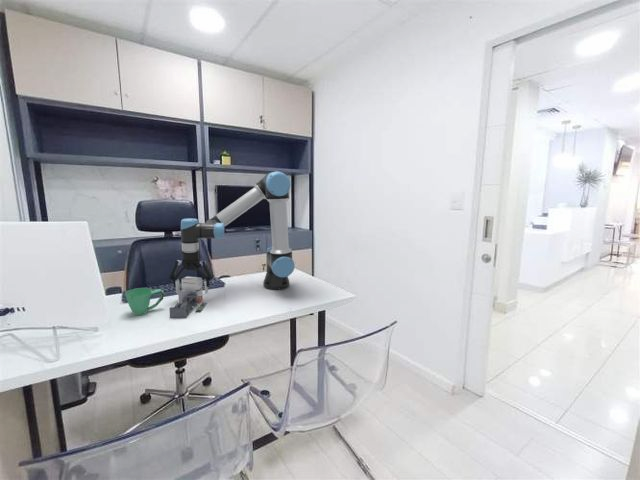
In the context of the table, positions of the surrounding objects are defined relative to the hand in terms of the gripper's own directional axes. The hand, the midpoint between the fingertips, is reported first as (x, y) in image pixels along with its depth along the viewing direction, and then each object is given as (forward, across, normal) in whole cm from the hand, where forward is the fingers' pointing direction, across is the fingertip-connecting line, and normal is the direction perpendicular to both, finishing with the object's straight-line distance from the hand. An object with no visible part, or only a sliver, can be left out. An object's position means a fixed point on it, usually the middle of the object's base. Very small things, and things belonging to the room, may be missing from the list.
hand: (192, 292), depth 146 cm
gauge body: (+4, -2, +11) cm, 12 cm away
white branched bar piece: (+4, -2, +10) cm, 11 cm away
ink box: (+4, 0, 0) cm, 4 cm away
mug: (+4, +16, +12) cm, 21 cm away
